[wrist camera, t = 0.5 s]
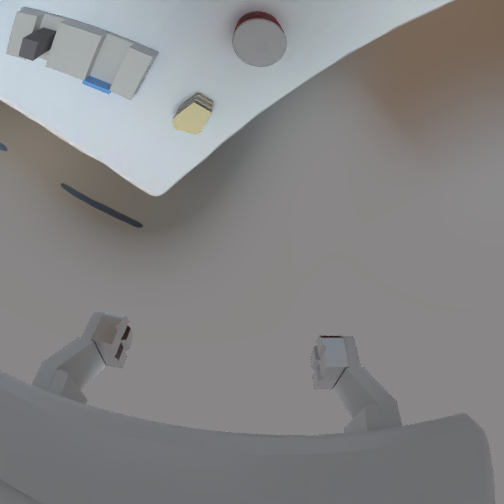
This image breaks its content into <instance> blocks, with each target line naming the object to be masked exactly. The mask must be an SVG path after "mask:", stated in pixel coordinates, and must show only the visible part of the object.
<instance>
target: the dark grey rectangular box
mask: <svg viewBox="0 0 504 504" xmlns="http://www.w3.org/2000/svg"><path fill="white" fill-rule="evenodd" d="M56 32H57V31H54V30H51V29H48V28H44V27H43V28H41V29H39V30H37V31H35V32H33V33H31V34H29V35H27V36H25V37H24V38H23V40H22V43H21V47H20V51H19V56H20V57H23V58H26V59H29V60H32V61H33V60H35V59H36V58H38V57H39V56H41V55H42V54H44V53H46V52H47V51H49V50H50V49H51V47H52V43H53V40H54V37H55V34H56Z"/></svg>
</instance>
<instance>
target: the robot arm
mask: <svg viewBox="0 0 504 504" xmlns="http://www.w3.org/2000/svg"><path fill="white" fill-rule="evenodd" d="M128 322H129V321H128V318H127V317H126V316H121V315H116V314H112V313H106V312H102V311H94V312H93V314H92V316H91V318H90V320H89V322H88V324H87V326H86V328H85V330H84V332H83V334H82V336H81V338H79V337H78V338H76V339H75V340H73V341H72V342H70V343H69V344H68V345H66V346H65V347H63V348H62V349H60V350H59V351H58V352H56V353H55V354H53V355H52V356H51V357H49V358H48V359H46V360H45V361H43V362H42V364H41V366H40V368H39V370H38V372H37V374H36V377H35V379H34V381H33V383H32V384H29V383H27V382H25V381H23V380H20V379H18V378H16V377H14V376H11V375H9V374H7V373H5V372H3V371H1V370H0V504H495V484H494V473H493V466H492V459H491V453H490V448H489V443H488V439H487V436H486V433H485V431H484V429H483V428H482V427H481V426H480V425H479V424H478V423H477V422H476V421H475V420H474V419H472V418H471V417H470V416H469V415H468V414H466V413H459V414H455V415H452V416H447V417H443V418H439V419H435V420H431V421H426V422H420V423H415V424H410V425H404V426H402V423H401V418H400V413H399V410H398V405H397V401H396V400H395V399H394V398H393V397H392V396H391V395H390V394H389V393H388V392H387V391H386V390H385V389H384V387H383V386H382V385H381V384H380V383H379V382H378V381H377V380H376V379H375V378H374V377H373V376H372V375H371V374H370V373H369V372H368V371H367V370H366V369H365V368H364V367H361V364H360V360H359V356H358V351H357V347H356V343H355V339H354V338H353V336H319V337H318V338H317V345H316V346H315V347H314V348H313V351H312V356H311V364H312V365H311V366H312V368H313V369H314V370H315V372H314V374H313V385H314V389H332V391H333V392H334V393H335V395H336V396H337V397H338V399H339V400H340V402H341V403H342V404H343V406H344V407H345V408H346V410H347V411H348V413H349V414H350V415H351V417H352V418H353V420H352V421H351V422H350V423H349V424H348V425H347V426H346V427H345V428H344V433H336V434H317V435H268V434H247V433H233V432H222V431H213V430H203V429H196V428H189V427H183V426H176V425H171V424H165V423H160V422H155V421H150V420H145V419H140V418H136V417H131V416H127V415H123V414H119V413H115V412H111V411H108V410H104V409H101V408H97V407H94V406H90V405H87V404H86V403H87V398H86V397H85V395H84V394H83V393H82V391H81V389H82V388H83V387H84V386H85V385H86V384H87V383H88V382H90V380H92V379H93V378H94V377H95V376H96V375H97V374H98V373H99V372H100V371H101V370H102V369H103V368H104V367H105V366H106V365H108V366H113V367H118V368H123V366H124V363H125V360H126V357H127V356H126V353H125V351H127V350H128V349H129V348H130V346H131V342H132V331H131V328H130V327H129V326H128V325H127V324H128Z"/></svg>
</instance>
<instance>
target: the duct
mask: <svg viewBox="0 0 504 504" xmlns="http://www.w3.org/2000/svg"><path fill="white" fill-rule="evenodd" d="M43 27H44V28H48V29H51V30H54V31H57V32H56V34H55V37H54V40H53V43H52V47H51V49H50V50H49V51H47V52H46V53H44V54H42V55H41V56H39V58H42V59H45V60H47V63H46V67H49V68H52V69H55V70H58V71H60V72H63V73H66V74H69V75H71V76H74V77H76V78H79V79H82V80H83V82H82V84H85V85H87V86H90V87H92V88H95V89H97V90H100V91H102V92H105V93H107V94H109V93H110V92H114V93H116V94H118V95H121V96H123V97H125V98H128V99H130V100H131V99H132V98H133V97H134V96H135V94H136V93H137V91H138V89H139V87H140V85H141V83H142V81H143V79H144V77H145V75H146V74H147V72H148V70H149V68H150V66H151V64H152V63H153V61H154V59H155V57H156V56H157V54H158V52H157V51H154V50H152V49H150V48H148V47H145V46H143V45H141V44H138V43H136V42H133V41H131V40H128V39H126V38H123V37H121V36H118V35H116V34H113V33H110V32H108V31H105V30H102V29H99V28H97V27H94V26H91V25H88V24H85V23H82V22H79V21H75V20H72V19H69V18H65V17H62V16H58V15H55V14H51V13H47V12H43V11H39V10H35V9H31V8H26V7H23V8H21V10H20V11H18V12H17V13H16V17H15V20H14V24H13V27H12V31H11V35H10V39H9V43H8V47H7V52H6V54H9V55H12V56H15V57H19V58H22V59H26V58H23V57H20V56H19V51H20V47H21V43H22V40H23V38H24V37H25V36H27V35H29V34H31V33H33V32H35V31H37V30H39V29H41V28H43Z"/></svg>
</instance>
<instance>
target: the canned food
mask: <svg viewBox="0 0 504 504" xmlns="http://www.w3.org/2000/svg"><path fill="white" fill-rule="evenodd" d="M232 40H233V48H234V51H235V53H236V54H237V56H238V57H239V58H240V59H241V60H242V61H244V62H245V63H247V64H250V65H252V66H258V67H263V66H269V65H272V64H274V63H276V62H277V61H278V60H280V59H281V57H282V56H283V54H284V53H285V50H286V37H285V34H284V32H283V30H282V28H281V26H280V25H279V23H278V22H277V20H276V19H275V18H274V17H273V16H271V15H270V14H267V13H264V12H251V13H248V14H246V15H244V16H243V17H242V18H241V19H240V20H239V21H238V23H237V26H236V28H235V31H234V34H233V39H232Z"/></svg>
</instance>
